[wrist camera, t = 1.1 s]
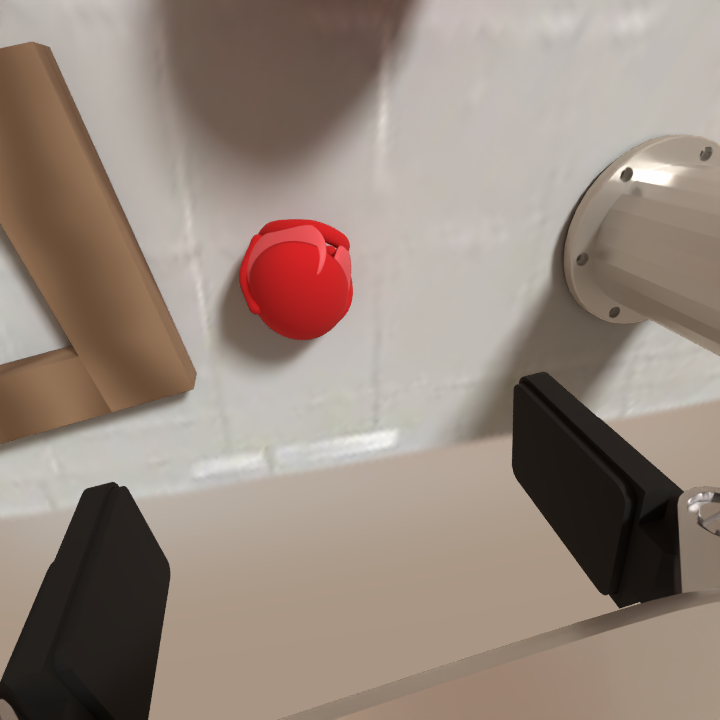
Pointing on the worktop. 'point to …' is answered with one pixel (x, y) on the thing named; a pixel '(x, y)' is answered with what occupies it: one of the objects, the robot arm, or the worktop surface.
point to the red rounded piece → (298, 277)
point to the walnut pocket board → (75, 264)
